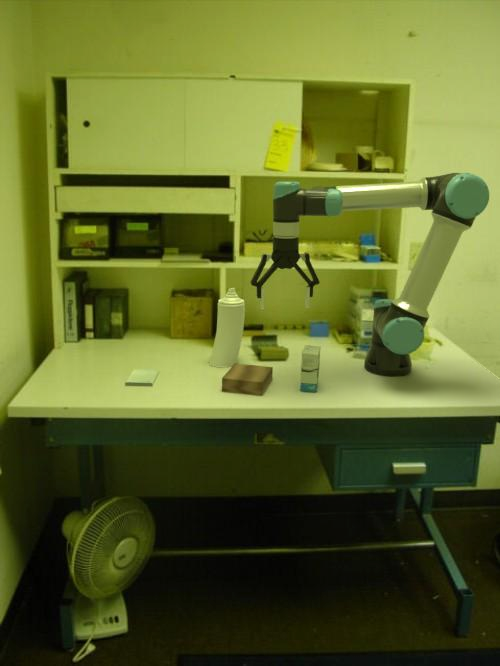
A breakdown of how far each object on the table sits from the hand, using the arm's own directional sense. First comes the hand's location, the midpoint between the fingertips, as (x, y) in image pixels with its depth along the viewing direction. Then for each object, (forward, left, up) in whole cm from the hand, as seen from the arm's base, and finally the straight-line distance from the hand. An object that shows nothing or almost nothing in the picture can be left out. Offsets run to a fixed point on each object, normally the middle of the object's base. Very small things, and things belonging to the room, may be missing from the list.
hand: (284, 308), depth 183 cm
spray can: (+21, -11, -23) cm, 33 cm away
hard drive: (+41, +12, -23) cm, 48 cm away
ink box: (-9, +4, -23) cm, 25 cm away
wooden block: (+9, +8, -22) cm, 25 cm away
